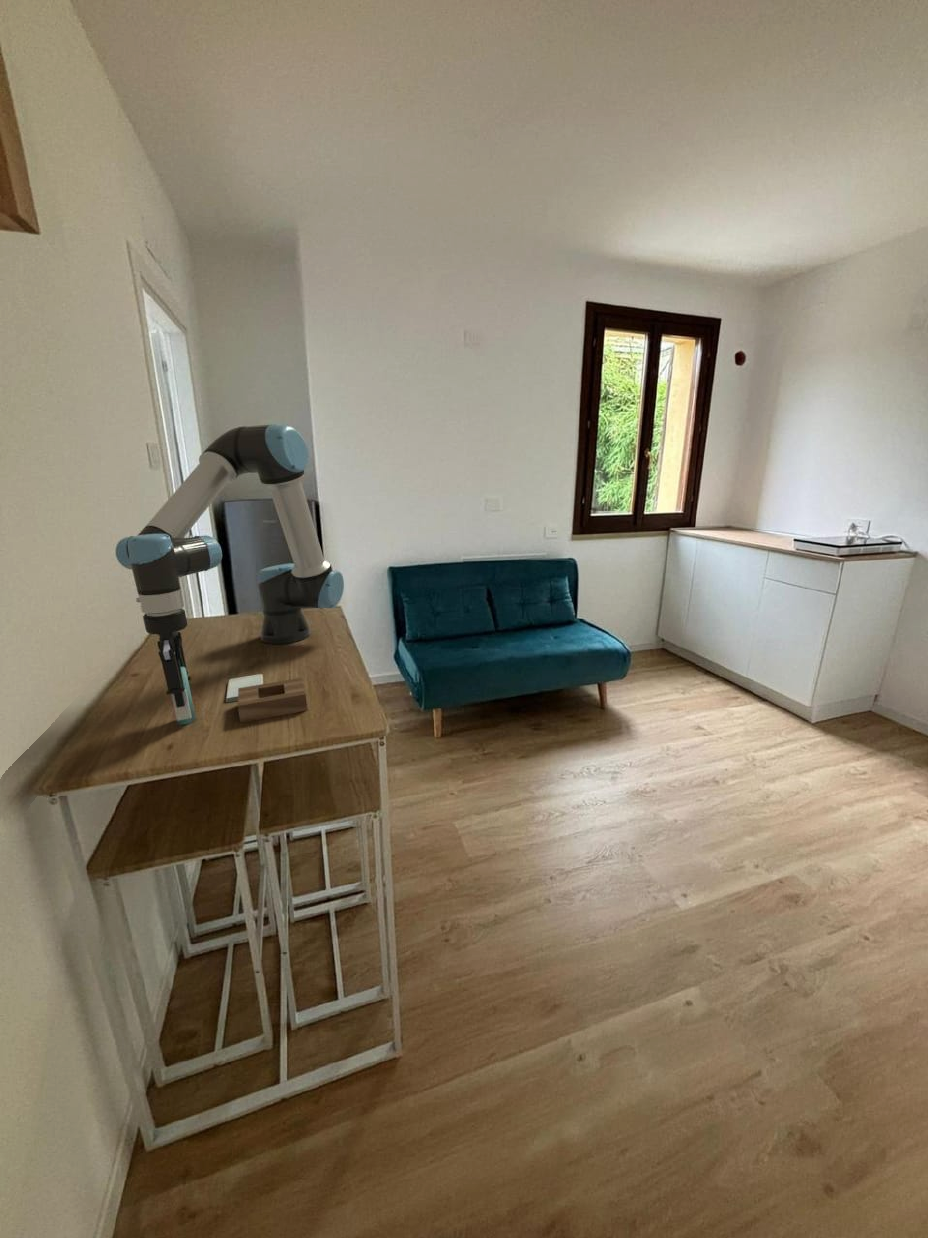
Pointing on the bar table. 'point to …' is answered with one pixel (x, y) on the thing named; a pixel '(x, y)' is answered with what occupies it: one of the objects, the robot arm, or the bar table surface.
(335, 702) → the bar table surface
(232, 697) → the hard drive
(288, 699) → the socket block
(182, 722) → the peg
